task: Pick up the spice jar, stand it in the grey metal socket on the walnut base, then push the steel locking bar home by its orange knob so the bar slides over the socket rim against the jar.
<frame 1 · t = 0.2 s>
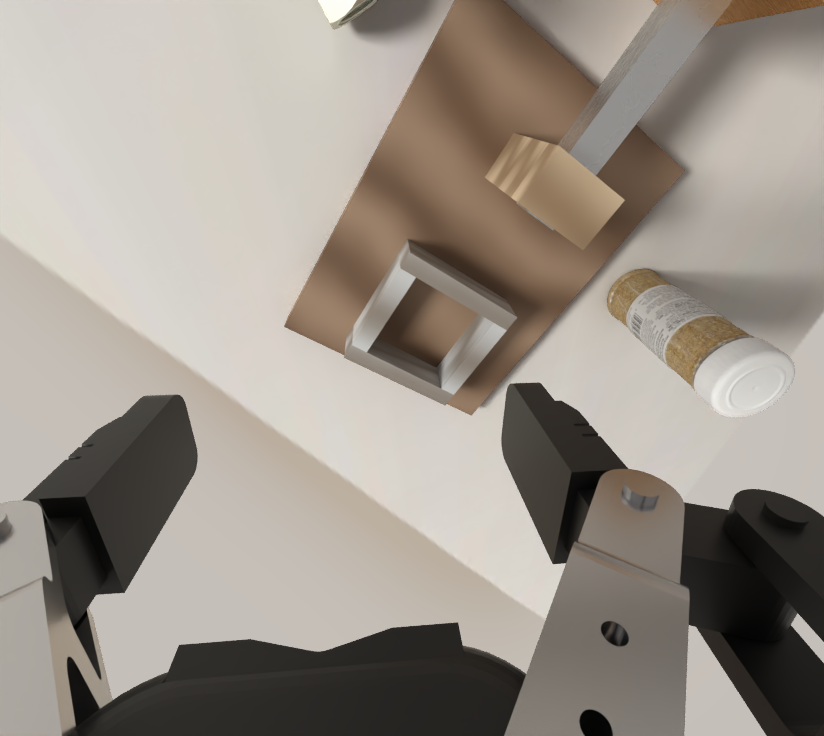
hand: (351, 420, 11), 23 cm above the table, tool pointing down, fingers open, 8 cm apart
socket base: (467, 247, 32), on the table
locking bar: (633, 83, 21), point 6 cm above the table, slide at 0.0 cm
spice jar: (630, 292, 35), on the table
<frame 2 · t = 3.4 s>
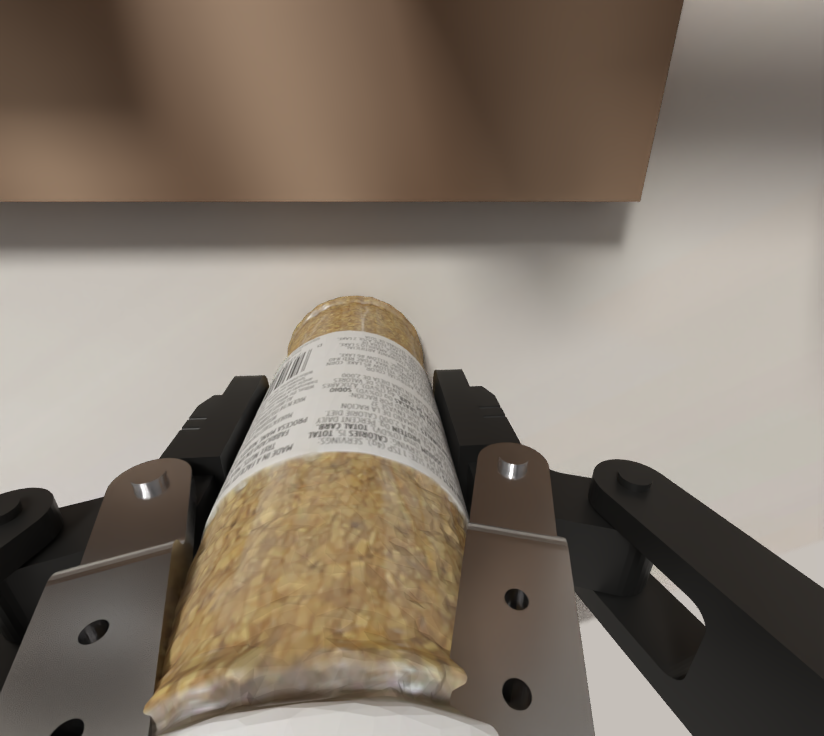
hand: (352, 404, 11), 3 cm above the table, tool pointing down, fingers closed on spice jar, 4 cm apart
spice jar: (357, 353, 15), on the table, touching gripper
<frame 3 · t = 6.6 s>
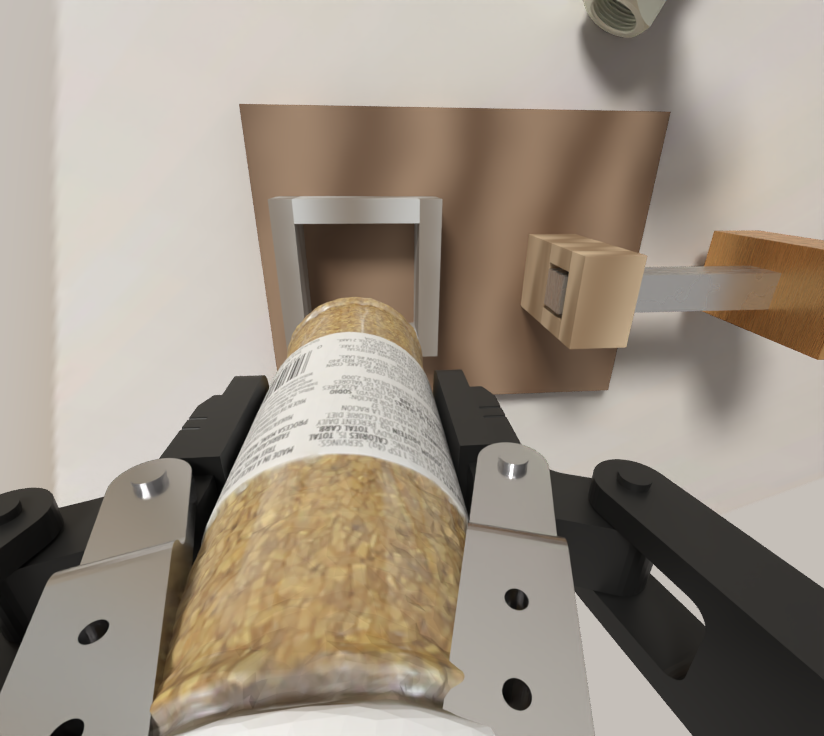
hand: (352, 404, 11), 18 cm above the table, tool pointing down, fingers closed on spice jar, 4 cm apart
socket base: (451, 267, 28), on the table
locking bar: (684, 288, 23), point 7 cm above the table, slide at 0.0 cm
spice jar: (357, 354, 15), point 15 cm above the table, touching gripper
when the fingers open (6 cm above the table, at t = 9.7 s): spice jar stays where it is, resting on socket base.
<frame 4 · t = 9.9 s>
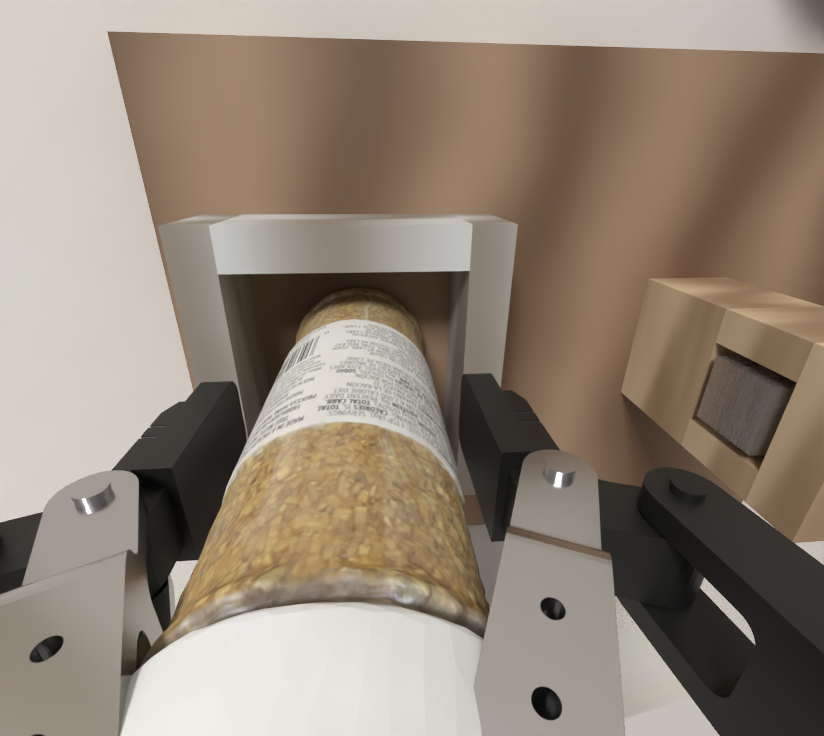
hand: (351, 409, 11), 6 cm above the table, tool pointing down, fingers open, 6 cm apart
socket base: (507, 328, 17), on the table
spice jar: (361, 342, 15), point 1 cm above the table, touching socket base
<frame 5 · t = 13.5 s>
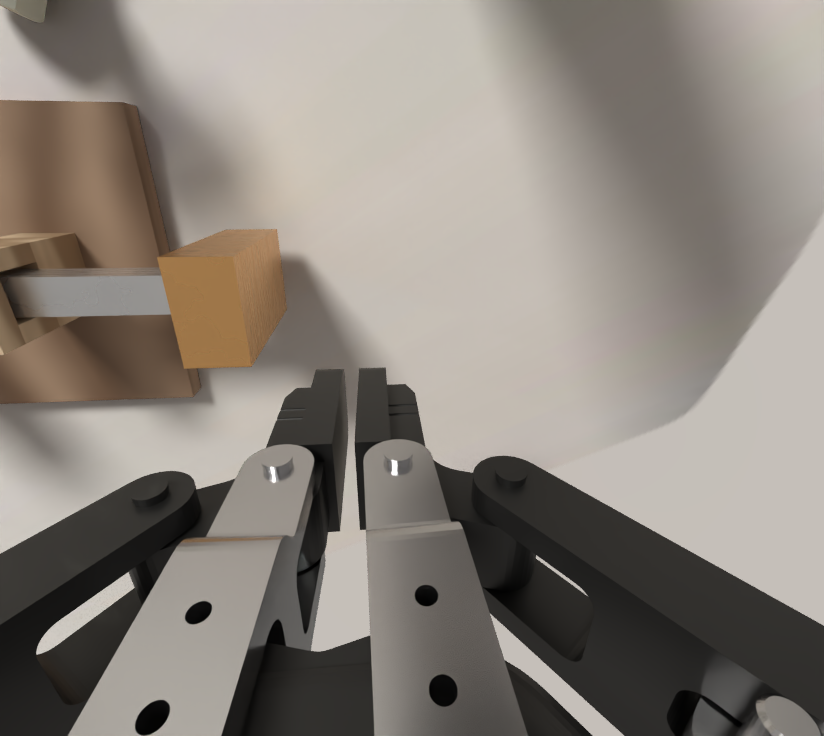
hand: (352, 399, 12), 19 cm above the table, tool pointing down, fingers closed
locking bar: (118, 291, 22), point 7 cm above the table, slide at 0.0 cm
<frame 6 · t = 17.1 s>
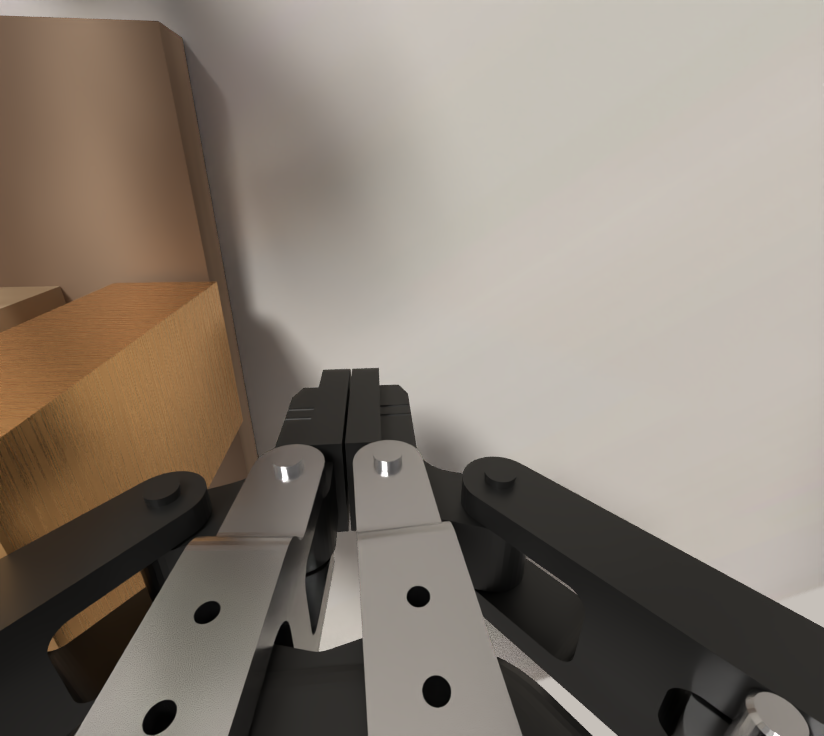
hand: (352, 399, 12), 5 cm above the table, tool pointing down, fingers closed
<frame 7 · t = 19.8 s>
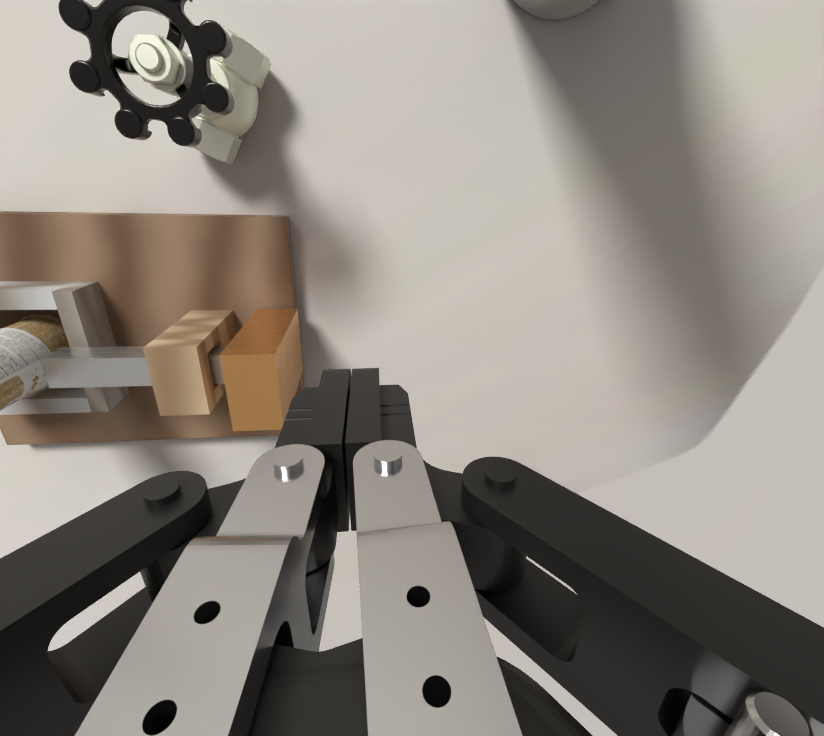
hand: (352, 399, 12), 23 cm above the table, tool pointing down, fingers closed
socket base: (144, 333, 34), on the table
locking bar: (176, 365, 28), point 7 cm above the table, slide at 7.0 cm
valve: (232, 103, 28), on the table
spice jar: (54, 339, 32), point 1 cm above the table, touching socket base
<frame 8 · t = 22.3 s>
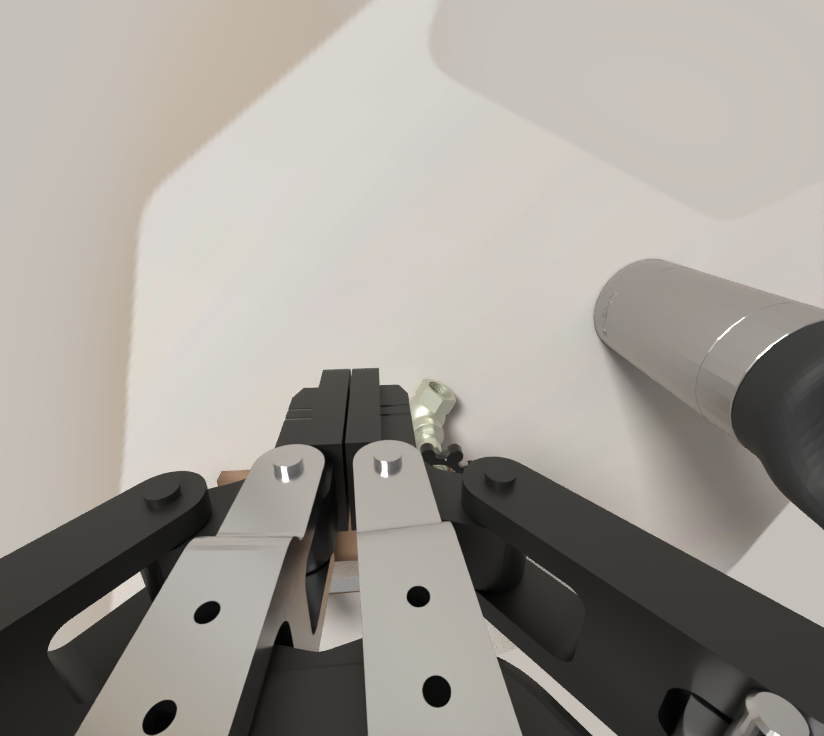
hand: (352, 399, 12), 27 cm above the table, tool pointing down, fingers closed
socket base: (342, 528, 49), on the table
locking bar: (386, 573, 44), point 6 cm above the table, slide at 7.0 cm
valve: (420, 404, 43), on the table
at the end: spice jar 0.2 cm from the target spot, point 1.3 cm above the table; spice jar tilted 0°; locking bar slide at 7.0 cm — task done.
